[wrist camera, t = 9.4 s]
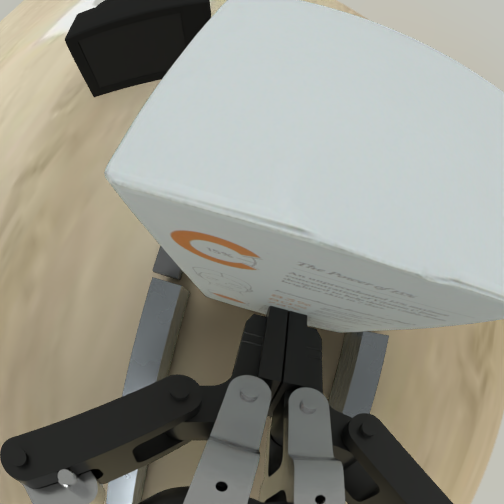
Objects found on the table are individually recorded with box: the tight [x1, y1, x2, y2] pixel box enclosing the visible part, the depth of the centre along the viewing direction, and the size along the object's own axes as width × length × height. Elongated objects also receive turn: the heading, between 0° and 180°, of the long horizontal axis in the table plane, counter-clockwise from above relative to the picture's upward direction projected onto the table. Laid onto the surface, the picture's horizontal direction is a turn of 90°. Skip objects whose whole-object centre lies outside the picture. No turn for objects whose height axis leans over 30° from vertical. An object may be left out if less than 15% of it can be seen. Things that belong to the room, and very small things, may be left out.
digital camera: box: [65, 0, 211, 97], centre depth 17 cm, size 10×5×7 cm, turn 101°
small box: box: [105, 0, 504, 333], centre depth 11 cm, size 8×6×13 cm
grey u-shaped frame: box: [106, 277, 389, 504], centre depth 13 cm, size 12×18×2 cm, turn 166°
